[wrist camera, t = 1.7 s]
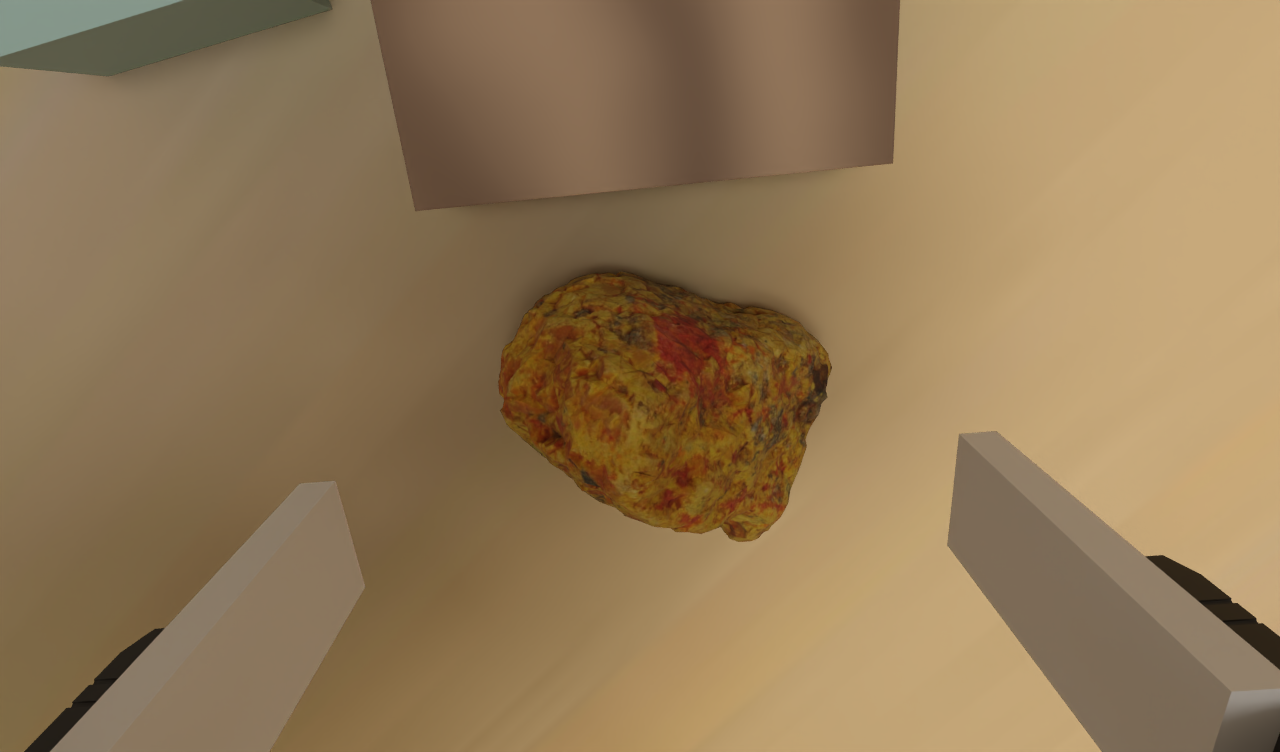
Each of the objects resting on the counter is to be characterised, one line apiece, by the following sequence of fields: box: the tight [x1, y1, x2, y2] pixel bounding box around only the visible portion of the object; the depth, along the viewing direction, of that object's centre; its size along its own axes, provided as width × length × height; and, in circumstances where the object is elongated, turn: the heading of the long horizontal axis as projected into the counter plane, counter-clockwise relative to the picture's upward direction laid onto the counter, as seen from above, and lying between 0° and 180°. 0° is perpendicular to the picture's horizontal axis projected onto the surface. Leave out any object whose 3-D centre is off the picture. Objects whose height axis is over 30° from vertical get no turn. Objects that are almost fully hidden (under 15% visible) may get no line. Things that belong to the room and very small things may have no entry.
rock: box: [498, 272, 832, 542], centre depth 23 cm, size 11×8×10 cm
